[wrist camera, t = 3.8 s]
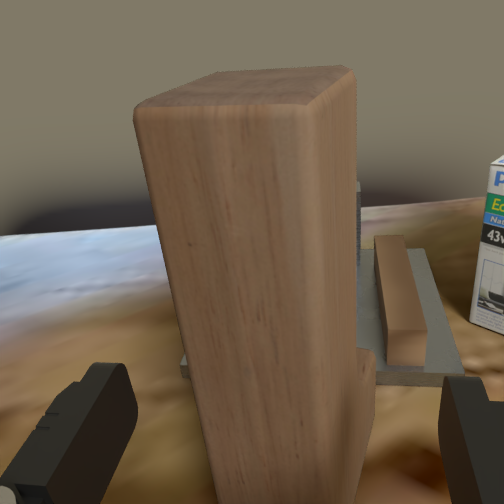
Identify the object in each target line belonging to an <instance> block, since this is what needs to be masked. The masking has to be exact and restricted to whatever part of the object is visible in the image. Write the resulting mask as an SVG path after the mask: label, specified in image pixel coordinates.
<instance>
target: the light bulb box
mask: <svg viewBox="0 0 504 504" xmlns="http://www.w3.org/2000/svg"><path fill="white" fill-rule="evenodd" d="M469 321H470V322H471V323H474V324H477V325H480V326H482V327H485V328H488V329H490V330H493V331H495V332H498V333H501V334H503V335H504V155H503V156H502V157H500V158H499V159H497V160H496V161H494V162H492V163H491V164H490V169H489V178H488V187H487V195H486V202H485V210H484V217H483V224H482V231H481V239H480V245H479V252H478V260H477V267H476V275H475V281H474V289H473V296H472V303H471V311H470V318H469Z"/></svg>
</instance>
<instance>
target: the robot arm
mask: <svg viewBox="0 0 504 504" xmlns="http://www.w3.org/2000/svg"><path fill="white" fill-rule="evenodd" d="M137 417H138V406H137V401H136V398H135V395H134V392H133V388H132V385H131V382H130V379H129V375H128V372H127V369H126V367H125V365H124V364H122V363H99V362H96V363H93V364H92V365H91V366H90V367H89V369H88V370H87V372H86V374H85V375H84V377H83V378H82V380H81V381H80V382H73V383H71V384H70V385H69V386H68V387H67V388H65V389H64V390H63V391H62V392H61V393H59V394H58V395H57V396H56V398H55V399H54V400H53V402H52V403H51V405H50V406H49V408H48V409H47V411H46V412H45V416H42V418H41V419H40V421H39V422H38V424H37V425H36V429H35V430H33V431H32V432H31V434H30V435H29V437H28V438H27V440H26V441H25V443H24V444H23V446H22V447H21V448H20V450H19V451H18V453H17V454H16V456H15V457H14V459H13V460H12V462H11V463H10V464H9V466H8V467H7V469H6V470H5V472H4V473H3V475H2V476H1V477H0V504H100V502H101V500H102V498H103V496H104V494H105V492H106V489H107V487H108V485H109V483H110V481H111V479H112V476H113V474H114V472H115V470H116V468H117V466H118V463H119V461H120V459H121V457H122V455H123V453H124V451H125V448H126V446H127V444H128V442H129V440H130V438H131V435H132V433H133V431H134V429H135V426H136V423H137ZM438 436H439V445H440V451H441V455H442V460H443V465H444V469H445V474H446V479H447V483H448V488H449V493H450V497H451V502H452V504H504V402H500V401H489V399H488V396H487V393H486V390H485V388H484V385H483V382H482V380H481V378H480V377H466V376H445V377H444V379H443V386H442V395H441V403H440V411H439V419H438Z"/></svg>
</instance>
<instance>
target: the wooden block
mask: <svg viewBox="0 0 504 504" xmlns="http://www.w3.org/2000/svg"><path fill="white" fill-rule="evenodd" d="M133 123H134V128H135V132H136V137H137V141H138V145H139V150H140V154H141V159H142V163H143V168H144V172H145V177H146V181H147V186H148V190H149V195H150V199H151V204H152V208H153V213H154V217H155V222H156V226H157V231H158V235H159V240H160V244H161V249H162V253H163V258H164V262H165V267H166V271H167V276H168V280H169V284H170V289H171V293H172V298H173V302H174V307H175V311H176V316H177V320H178V325H179V329H180V334H181V338H182V343H183V347H184V352H185V356H186V361H187V365H188V370H189V374H190V379H191V383H192V388H193V392H194V397H195V401H196V406H197V410H198V414H199V419H200V423H201V428H202V432H203V437H204V441H205V446H206V450H207V455H208V459H209V464H210V468H211V473H212V477H213V482H214V486H215V491H216V495H217V500H218V504H354V500H355V496H356V491H357V487H358V483H359V479H360V475H361V470H362V466H363V462H364V458H365V454H366V449H367V445H368V441H369V437H370V433H371V428H372V424H373V420H374V416H375V384H376V357H375V355H374V352H373V351H371V350H369V349H364V348H358V347H356V78H355V76H354V73H353V71H352V69H349V68H347V67H344V66H342V65H336V66H318V67H300V68H281V69H263V70H245V71H226V72H216V73H213V74H210V75H208V76H205V77H203V78H200V79H197V80H195V81H193V82H190V83H187V84H185V85H182V86H179V87H177V88H174V89H172V90H169V91H167V92H164V93H161V94H159V95H156V96H154V97H151V98H149V99H146V100H144V101H143V102H141V103H140V104H138V105H137V106H136V107H135V108H134V114H133Z"/></svg>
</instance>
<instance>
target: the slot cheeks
mask: <svg viewBox="0 0 504 504" xmlns="http://www.w3.org/2000/svg"><path fill="white" fill-rule="evenodd" d="M374 270H375V278H376V286H377V293H378V301H379V309H380V317H381V324H382V332H383V340H384V347H385V355H386V363H387V365H401V366H424V365H425V354H426V343H427V331H428V330H427V326H426V322H425V318H424V314H423V310H422V307H421V303H420V299H419V295H418V291H417V288H416V284H415V280H414V276H413V272H412V268H411V265H410V261H409V257H408V253H407V249H406V245H405V242H404V238H403V235H385V236H374Z"/></svg>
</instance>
